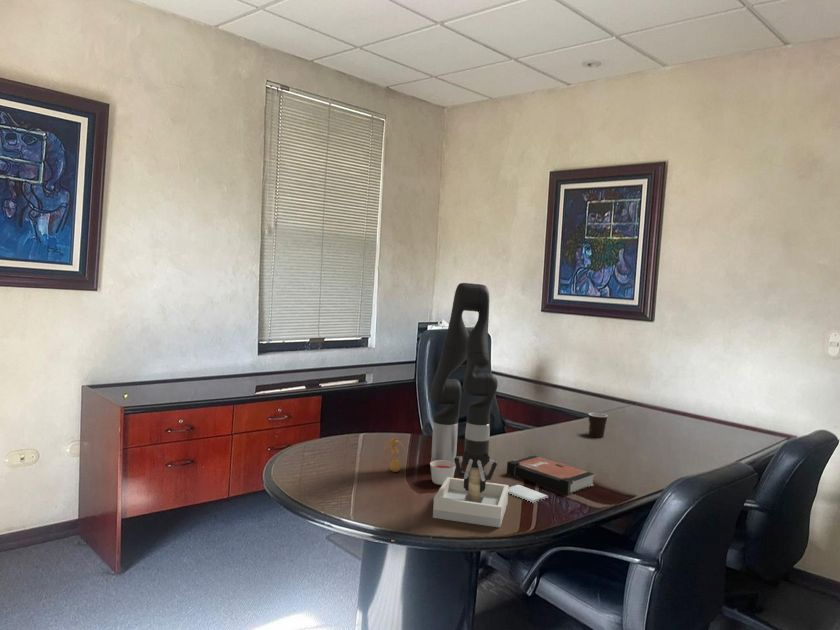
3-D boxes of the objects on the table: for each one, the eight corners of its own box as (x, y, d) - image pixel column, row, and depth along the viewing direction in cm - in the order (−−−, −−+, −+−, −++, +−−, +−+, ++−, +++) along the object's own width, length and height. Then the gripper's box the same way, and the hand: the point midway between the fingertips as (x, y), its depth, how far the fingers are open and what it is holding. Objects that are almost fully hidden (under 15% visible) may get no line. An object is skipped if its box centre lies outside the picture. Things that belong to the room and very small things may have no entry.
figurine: (386, 474, 223) (388, 441, 222) (380, 469, 228) (381, 437, 227) (407, 472, 227) (409, 439, 226) (400, 467, 232) (402, 435, 231)
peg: (468, 494, 198) (470, 463, 198) (481, 496, 197) (482, 465, 197) (466, 499, 194) (468, 467, 194) (479, 500, 193) (481, 469, 193)
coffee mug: (602, 439, 287) (604, 418, 286) (584, 436, 291) (585, 414, 291) (610, 434, 296) (611, 413, 296) (592, 431, 301) (593, 410, 300)
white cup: (456, 479, 221) (457, 461, 221) (452, 487, 213) (453, 469, 212) (431, 476, 223) (432, 459, 223) (426, 484, 214) (427, 466, 214)
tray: (446, 495, 205) (447, 477, 205) (507, 503, 201) (508, 485, 200) (432, 517, 186) (433, 497, 186) (500, 527, 181) (501, 507, 181)
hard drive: (503, 488, 211) (532, 500, 202) (518, 484, 217) (548, 494, 207) (503, 493, 211) (532, 505, 202) (518, 488, 217) (548, 499, 208)
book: (595, 486, 223) (596, 472, 223) (567, 496, 211) (568, 481, 211) (535, 466, 242) (535, 454, 242) (506, 475, 230) (507, 461, 230)
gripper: (501, 436, 197) (498, 489, 198) (457, 431, 200) (454, 484, 201) (498, 442, 189) (495, 498, 190) (452, 437, 193) (449, 491, 194)
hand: (474, 490), depth 196 cm, fingers closed on peg, 4 cm apart
